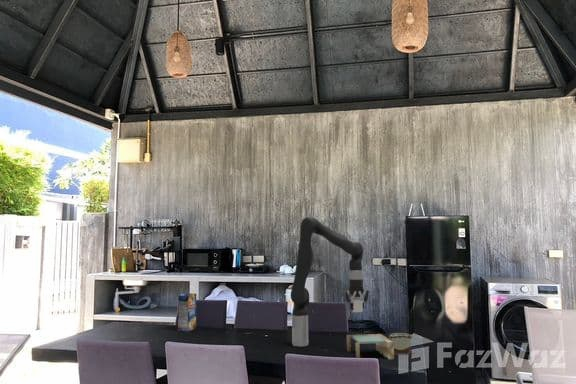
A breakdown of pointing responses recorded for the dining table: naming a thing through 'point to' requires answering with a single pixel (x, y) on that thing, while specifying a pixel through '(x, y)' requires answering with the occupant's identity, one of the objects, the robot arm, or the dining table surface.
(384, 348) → the trapdoor frame
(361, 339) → the trapdoor
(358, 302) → the beige block
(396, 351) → the food container
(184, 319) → the juice carton
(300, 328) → the robot arm
